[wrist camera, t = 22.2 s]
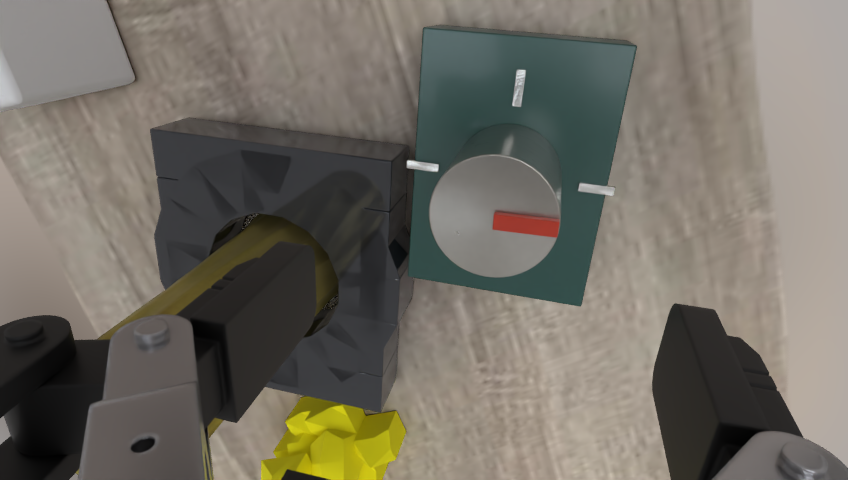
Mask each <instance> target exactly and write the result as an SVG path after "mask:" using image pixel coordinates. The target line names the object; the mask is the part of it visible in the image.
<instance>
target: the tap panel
mask: <svg viewBox="0 0 848 480" xmlns="http://www.w3.org/2000/svg"><path fill="white" fill-rule="evenodd" d="M636 49H637V46H636V45H634V44H633V43H631V42H629V41H627V40H615V39H603V38H591V37H579V36H567V35H555V34H544V33H532V32H520V31H508V30H496V29H484V28H472V27H460V26H448V25H436V26H429V27H424V28H423V37H422V53H421V70H420V86H419V102H418V118H417V134H416V150H415V160H410V159H408V160H407V167H406V168H410V169H414V182H413V198H412V214H411V231H410V247H409V263H408V276H409V277H414V278H419V279H425V280H431V281H437V282H443V283H448V284H454V285H460V286H466V287H471V288H477V289H483V290H489V291H494V292H500V293H506V294H512V295H517V296H523V297H529V298H535V299H540V300H546V301H552V302H558V303H563V304H569V305H575V306H581V305H582V300H583V296H584V291H585V286H586V282H587V277H588V272H589V268H590V263H591V258H592V254H593V249H594V244H595V240H596V235H597V231H598V226H599V221H600V217H601V212H602V207H603V203H604V198H605V195H609V196H614V192H615V187H614V186H607V184H608V179H609V175H610V170H611V165H612V161H613V156H614V152H615V147H616V142H617V138H618V133H619V128H620V124H621V119H622V114H623V110H624V105H625V100H626V96H627V91H628V86H629V82H630V77H631V73H632V68H633V63H634V59H635V54H636ZM500 124H515V125H521V126H524V127H527V128H530V129H532V130H534V131H536V132H537V133H539V134H540V135H542V136H543V137H544V138H545V139H546V140H547V141H548V142H549V143H550V144H551V146H552V147H553V148H554V150H555V152H556V154H557V156H558V158H559V161H560V165H561V172H562V187H561V221H560V229H559V234H558V237H557V239H556V242H555V244H554V246H553V247H552V249H551V251H550V252H549V253H548V255H547V256H546V257H545V258H544V259H543V260H542V261H541V262H540V263H538V264H537V265H536V266H534V267H533V268H531V269H529V270H527V271H525V272H523V273H520V274H517V275H514V276H509V277H498V278H494V277H485V276H480V275H477V274H474V273H471V272H469V271H466V270H464V269H463V268H461V267H459V266H458V265H456V264H455V263H454V262H452V261H451V260H450V259H449V258H448V257H447V256H446V255H445V254H444V253H443V251H442V250H441V249H440V247H439V246H438V244H437V243H436V241H435V239H434V236H433V234H432V231H431V227H430V222H429V204H430V200H431V196H432V193H433V191H434V188H435V186H436V185H437V183H438V181H439V180H440V178H441V177H442V176H443V174H444V173H445V172H446V170H447V169H448V167H449V166H450V165H451V163H452V162H453V160H454V159H455V158H456V156H457V155H458V154H459V152H460V151H461V149H462V148H463V147H464V145H465V144H466V143H467V142H468V141H469V140H470V139H471V138H472V137H473V136H474V135H475V134H477V133H478V132H480V131H482V130H484V129H486V128H488V127H491V126H495V125H500Z"/></svg>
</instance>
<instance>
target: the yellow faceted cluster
mask: <svg viewBox="0 0 848 480" xmlns="http://www.w3.org/2000/svg"><path fill="white" fill-rule="evenodd" d="M285 423H286V424H287V426H288V428H289V429H288V430H287V432H286V433H285V435H284V436H283V438H282V439H281V441H280V442H279V444H278V445H277V447H276V448H275V450H274V451H273V453H274V454H275V456H276V458H274V459H267V460H261V480H281V479H282V477H283V475H284V474H285V472H286V470H287V469H289V470H293V471H297V472H301V473H305V474H310V475H314V476H318V477H322V478H326V479H330V480H382V479H383V476H384V474H385V471H386V468H387V466H388V463H389V462H391V461H393V460H396V457H397V455H398V452H399V449H400V447H401V444H402V441H403V439H404V436H405V433H406V430H405V428H404V426H403V424H402V422H401V419H400V417H399V415H398V413H397V411H392V412H386V413H380V414H374V415H368V416H366V415H365V413H364V411H363V409H362V408H357V407H353V406H348V405H344V404H339V403H335V402H331V401H326V400H322V399H317V398H313V397H308V396H307V397H301V399H300V400H299V402H298V403H297V405H296V406H295V408H294V409H293V411H292V412H291V413H290V415H289V416H288V418H287V419H286V421H285Z"/></svg>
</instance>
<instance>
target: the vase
mask: <svg viewBox="0 0 848 480" xmlns="http://www.w3.org/2000/svg"><path fill="white" fill-rule="evenodd" d="M279 241H284V242H291V243H297V244H303V245H310V246H311V247H312V248H313V250H314V254H315V274H316V301H317V305H316V313H315V316H316V315H317V314H318V313H319V312H320V311H321V310H322V308H323V307H324V306H325V305H326V304H327V303H328V302H329V300H330V299H332V298H333V297H335V296H336V295H337V294H338V279H337V276H336V274H335V271H334V269H333V266H332V264H331V262H330V259H329V257H328V254H327V253H326V251H325V250H324V249H323V248H322V247H321V246H320V245H319V244H318V242H317V241H316V240H315V239H314V238H313V237H312V236H311V235H310V233H309V232H307V231H306V230H304V229H302V228H300V227H299V226H297V225H295V224H293V223H292V222H290V221H288V220H286V219H284V218H283V217H277V216H271V215H265V214H258V215H257V216H256V217H255V218H254V219H253V220H252V221H251V222H250V223H249V225H248V226H247V227H246V228H245V229H244V230H243V231H241V232H240V233H239V234H238V235H236V236H235V237H234V238H232V239H231V240H229V241H228V242H227V243H226V244H224V245H223V246H222V247H220V248H219V249H218V250H217V251H215V252H214V253H213V254H211V255H210V256H209V257H208V258H206V259H205V260H204V261H203V262H201V263H200V264H199V265H198V266H197V267H195V268H194V269H193V270H191V271H190V272H188V273H187V274H186V275H184V276H183V277H181V278H180V279H179V280H178V281H176V282H175V283H174V284H172V285H171V286H170V287H169V288H167V289H166V290H165V291H163V292H162V293H160V294H159V295H157V296H156V297H155V298H153V299H152V300H150V301H149V302H148V303H146V304H145V305H143V306H142V307H141V308H139V309H138V310H136V311H135V312H134V313H132V314H131V315H130V316H128V317H127V318H125V319H124V320H123V321H121V322H120V323H119V324H117V325H116V326H114V327H113V328H112V329H110V330H109V331H107V332H106V333H105V334H103V335H102V336H100V337H99V338H98V339H97V340H103V339H111V337H112V336H113V334H114V333H115V332H116V331H117V330H118V329H120V328H121V327H122V326H124V325H126V324H128V323H130V322H132V321H134V320H137V319H140V318H143V317H147V316H152V315H160V314H169V315H176V314H177V313H179V312H180V311H181V310H182V309H184V308H185V307H186V306H187V305H188V304H190V303H191V302H192V301H193V300H195V299H196V298H197V297H198V296H199V295H201V294H202V293H203V292H204V291H206V290H207V289H208V288H211V286H212V285H213V284H214V283H215V282H217V281H218V280H219V279H222V277H223V276H224V275H225V274H226V273H228V272H229V271H230V270H231V269H233V268H234V267H235V266H236V265H239V264H241V263H244V262H246V261H248V260H251V259H253V258H255V257H256V258H260V257H261V256H262V255H263V254H264V253H266V252H267V251H268V250H269V249H270V248H272V247H273V246H274V245H275V244H276V243H278V242H279ZM222 421H223V420H222V419H218V418H214V419H213V420H212V422H211V423H210V424H209V425H208V426H207V427H208V433H209V438H210V436H211V435H212V434H213V433H214V431H215V430H216V429H217V428H218V426H219V425H220V424H221V423H222ZM76 474H79V470H78V471H77V472H76Z"/></svg>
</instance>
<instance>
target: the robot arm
mask: <svg viewBox="0 0 848 480" xmlns="http://www.w3.org/2000/svg"><path fill="white" fill-rule="evenodd" d="M316 305H317V301H316V274H315V254H314V250H313V248H312V247H311V246H310V245H303V244H297V243H291V242H284V241H279V242H278V243H276V244H275V245H274V246H273V247H272V248H270V249H269V250H268V251H267V252H266V253H264V254H263V255H262V256H261V257H260V258H256V257H255V258H253V259H251V260H248V261H246V262H244V263H241V264H239V265H236V266H235V267H234V268H233V269H231V270H230V271H229V272H228V273H226V274H225V275H224V276H223V277H222V279H219V280H218V281H217V282H215V283H214V284H213V285H212V286H211V288H208V289H207V290H206V291H204V292H203V293H202V294H201V295H199V296H198V297H197V298H196V299H195V300H193V301H192V302H191V303H190V304H188V305H187V306H186V307H185V308H184V309H182V310H181V311H180V312H179V313H177V314H176V315H169V314H160V315H152V316H147V317H143V318H140V319H137V320H134V321H132V322H130V323H128V324H126V325H124V326H122V327H121V328H120V329H118V330H117V331H116V332H115V333H114V334H113V336H112V337H111V339H103V340H74V338H73V334H72V330H71V326H70V323H69V322H68V321H67V320H66V319H64V318H62V317H57V316H50V315H43V316H33V317H27V318H23V319H19V320H16V321H12V322H10V323H7V324H5V325H2V326H0V418H1V417H2V416H4V418H5V420H6V423H7V426H8V429H9V432H10V434H11V436H10V437H9V438H8V439H7V440H5V441H4V442H3V443H2V444H1V445H0V480H69V479H70V478H71V477H72V476H73V475H74V474H75V473H76V472H77V471H78V470H79V474H78V480H214V477H213V468H212V459H211V450H210V441H209V433H208V427H207V426H208V425H209V424H210V423H211V422H212V420H213V419H214V418H218V419H222V420H226V421H231V422H235V423H237V422H238V421H239V419H240V418H241V417H242V416H243V414H244V413H245V412H246V410H247V409H248V408H249V406H250V405H251V404H252V403H253V401H254V400H255V399H256V397H257V396H258V395H259V394H260V392H261V391H262V390H263V388H264V387H265V386H266V385H267V383H268V382H269V381H270V379H271V378H272V377H273V375H274V374H275V373H276V372H277V370H278V369H279V368H280V366H281V365H282V364H283V363H284V361H285V360H286V359H287V357H288V356H289V355H290V353H291V352H292V351H293V350H294V348H295V347H296V346H297V344H298V343H299V342H300V341H301V339H302V338H303V337H304V335H305V334H306V333H307V332H308V330H309V329H310V327H311V325H312V323H313V320H314V317H315V313H316ZM652 390H653V397H654V402H655V406H656V411H657V416H658V421H659V425H660V430H661V435H662V439H663V444H664V449H665V453H666V458H667V463H668V468H669V472H670V477H671V480H848V468H847V467H846V466H845V465H844V464H843V463H842V462H841V461H840V460H839V459H838V458H837V457H835V456H834V455H833V454H832V453H830V452H829V451H827V450H826V449H824V448H823V447H821V446H819V445H817V444H815V443H813V442H811V441H809V440H807V439H805V438H803V436H802V434H801V432H800V430H799V428H798V426H797V425H796V423H795V421H794V419H793V417H792V415H791V413H790V411H789V409H788V408H787V406H786V404H785V402H784V400H783V398H782V396H781V394H780V393H779V391H777V387H776V385H775V383H774V381H773V379H772V378H771V376H769V372H768V370H767V368H766V366H765V364H764V363H763V361H762V359H761V357H760V355H759V354H758V353H757V352H756V351H754V350H753V349H752V348H751V347H750V346H749V345H748V344H747V343H745V342H744V341H743V340H742V339H741V338H738V337H732V336H727V334H726V332H725V330H724V328H723V326H722V324H721V321H720V319H719V317H718V315H717V313H716V311H715V310H713V309H708V308H701V307H695V306H688V305H682V304H674V305H673V306H672V308H671V310H670V313H669V316H668V319H667V323H666V327H665V330H664V334H663V337H662V341H661V344H660V348H659V351H658V355H657V358H656V362H655V366H654V371H653V381H652ZM281 480H330V479H326V478H322V477H318V476H314V475H310V474H305V473H301V472H297V471H293V470H289V469H287V470H286V472H285V474H284V475H283V477H282V479H281Z"/></svg>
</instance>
